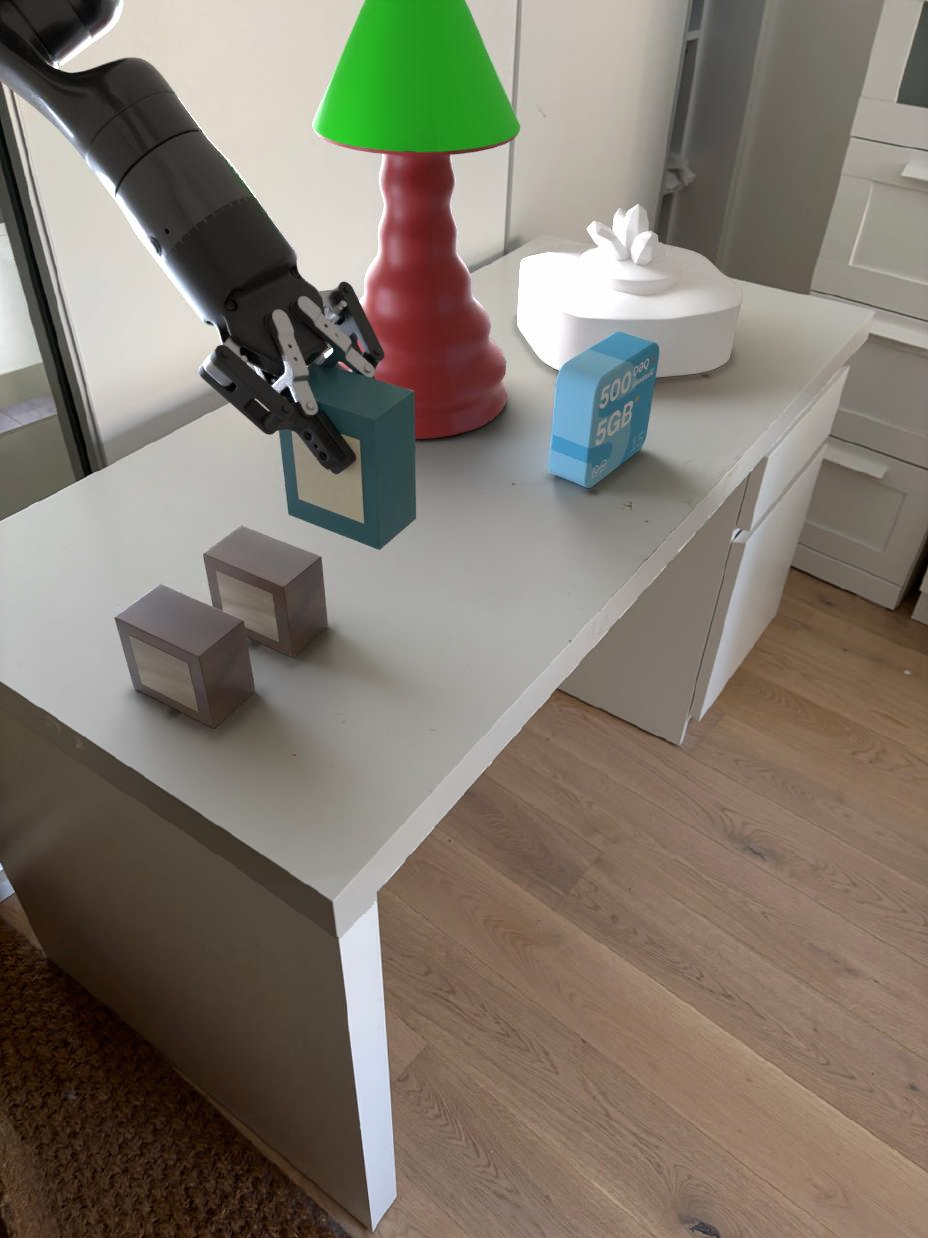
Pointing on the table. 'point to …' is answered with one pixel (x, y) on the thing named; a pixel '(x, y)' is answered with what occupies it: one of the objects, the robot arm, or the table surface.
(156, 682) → the walnut block
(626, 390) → the data package
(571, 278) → the crystal-topped trinket box
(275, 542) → the walnut block
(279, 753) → the table surface
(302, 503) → the teal block
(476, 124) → the table lamp
